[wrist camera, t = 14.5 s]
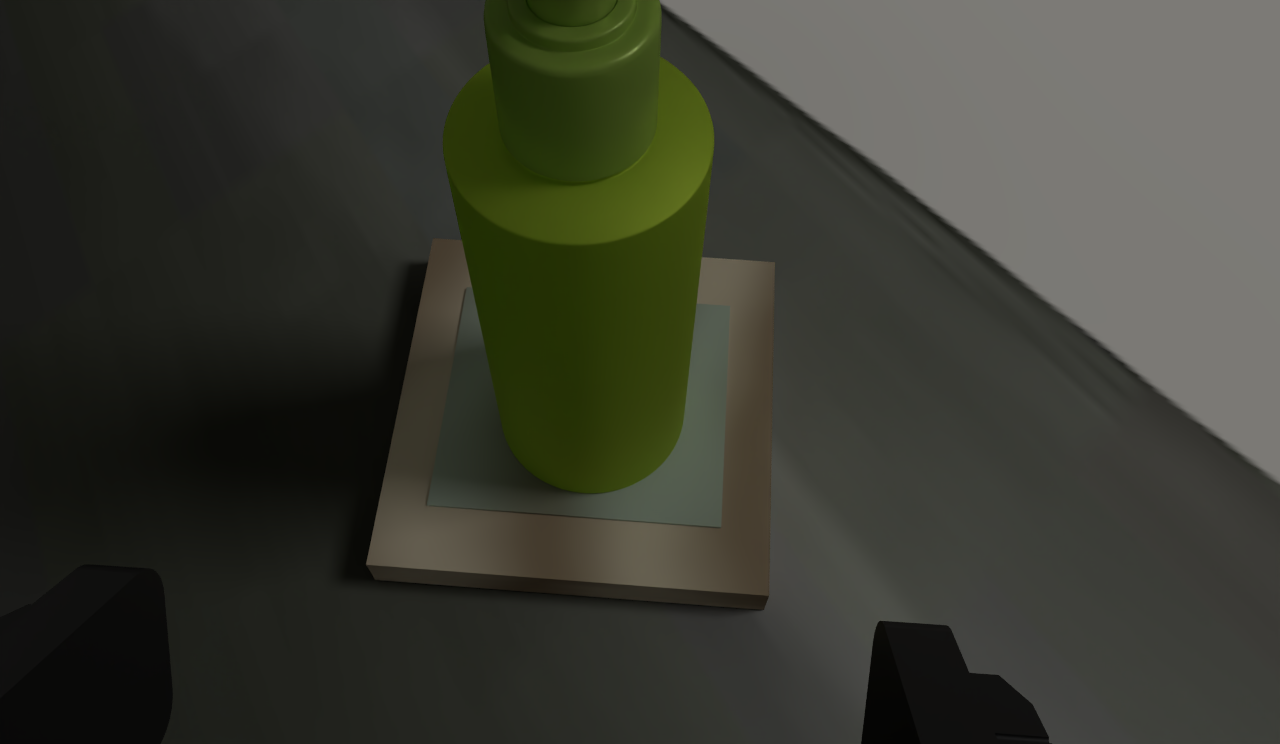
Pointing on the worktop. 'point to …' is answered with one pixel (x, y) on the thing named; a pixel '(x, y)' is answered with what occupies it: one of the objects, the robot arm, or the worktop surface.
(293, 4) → the worktop surface
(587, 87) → the soap dispenser
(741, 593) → the board
